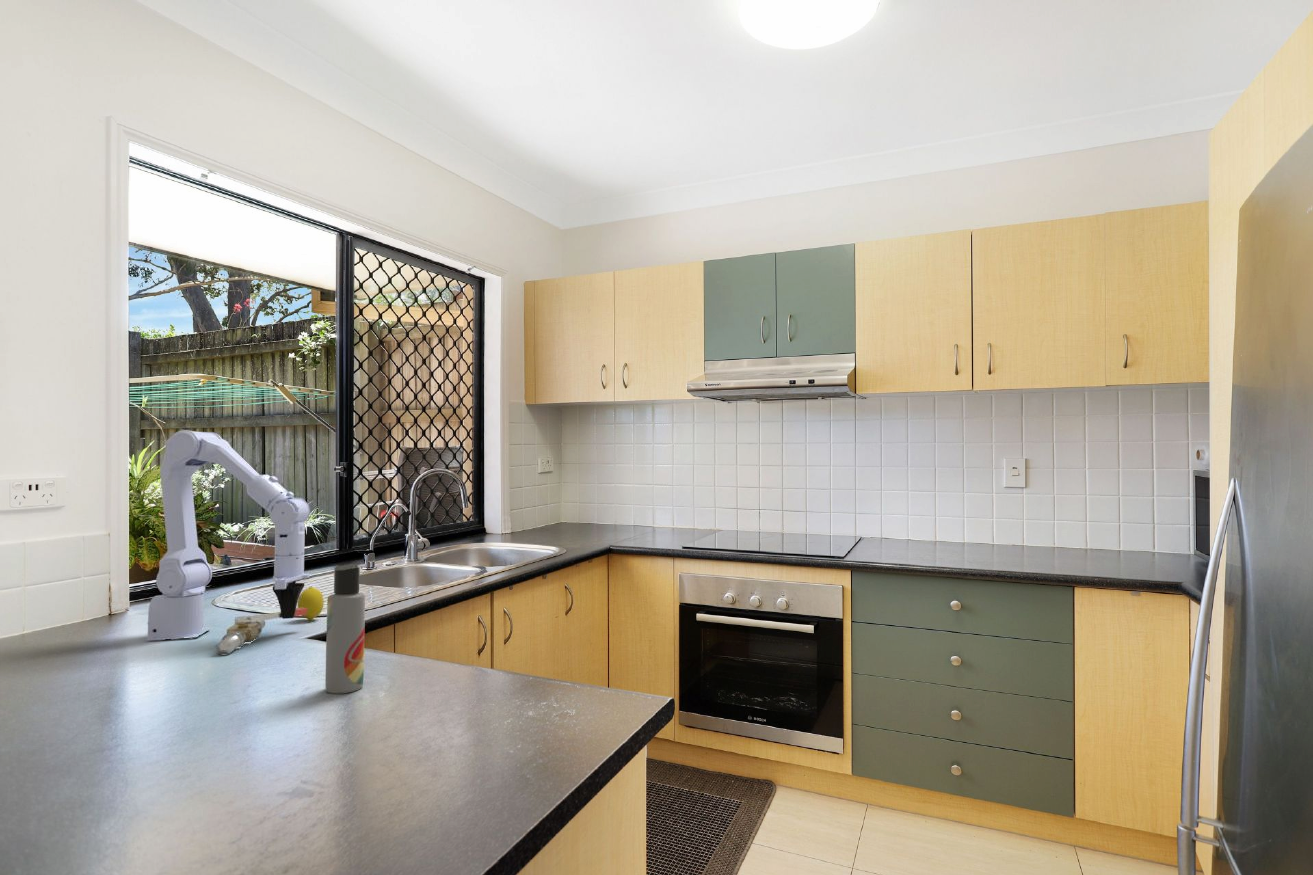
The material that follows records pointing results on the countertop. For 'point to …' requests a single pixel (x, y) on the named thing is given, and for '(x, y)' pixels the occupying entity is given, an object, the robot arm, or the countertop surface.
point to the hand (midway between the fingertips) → (288, 618)
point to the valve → (239, 636)
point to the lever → (266, 616)
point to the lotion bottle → (345, 632)
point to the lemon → (311, 602)
